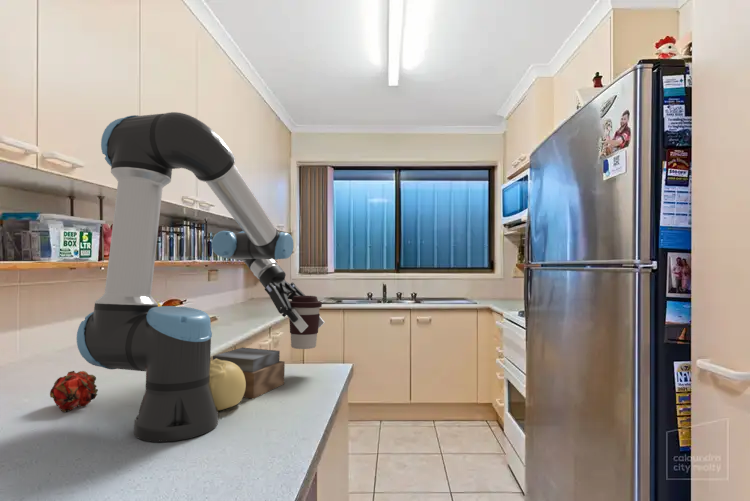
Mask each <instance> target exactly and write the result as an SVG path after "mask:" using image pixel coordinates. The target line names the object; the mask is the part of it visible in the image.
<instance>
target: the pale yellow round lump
mask: <svg viewBox="0 0 750 501" xmlns="http://www.w3.org/2000/svg"><path fill="white" fill-rule="evenodd" d="M210 388H211V391H212V395H213V398H214V403H215V406H216V407H217V410H218V412H219V411H222V410H225V409H229V408H232V407H235V406H237V405H238V404H239V403H240V402H241V401H242V400H243V398H244V397H243V396H244V393H245V388H246V381H245V376H244V374H243V372H242V370H241V369H240V367H239V366H238V365H236V364H235V363H233V362H230V361H224V360H219V359H214V360H213V359H210Z"/></svg>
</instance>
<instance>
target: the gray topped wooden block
mask: <svg viewBox="0 0 750 501" xmlns="http://www.w3.org/2000/svg"><path fill="white" fill-rule="evenodd" d="M280 358H281V356H280V350H276V349H261V348H252V347H251V348H250V347H240V348H235V349H232V350H229V351H225V352H222V353H218V354H215V355H212V360H214V359H219V360H224V361H230V362H233V363H235V364H236V365H238V366H239V367H240V369H241V370H242V372H243V374H244V376H245V381H246V388H245V393H244V396H243V398H246V399H256V398H258V397H261V395H264V394H266V393H269V392H271V391H272V390H275V389H277V388H278V387H281V386H284V384H285V370H286V369H285V367H286V366H285V365H286V364H285V362H286V361H284V360H283V361H282V360H280Z"/></svg>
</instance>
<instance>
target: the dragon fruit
mask: <svg viewBox="0 0 750 501" xmlns="http://www.w3.org/2000/svg"><path fill="white" fill-rule="evenodd" d="M96 380H97V377H96V375H94V374H89V373H88V372H87V371H85V370H79V371H78V372H75V370H72V371H71V370H70V371H68V372H67V375H63V376H60V377H58V378H57V379H56V380H55V381H54V383H53V386H52V388H51V389H50V392H49V396H50V398H52V399H53V401H54V403H55V405H56V406H57V407H58V408H59V409H60V411H61V412H63V413H66V412H67V413H68V412H70V411H72V410H73V409H75V408H79V407H82V408H84V407H86V406H88V405H89V403H91V402H92V401H93V400H94V399H95V398H96V397H97V396H98V391H99V390H98V389H97V385H96V384H95V383H96V382H95V381H96Z"/></svg>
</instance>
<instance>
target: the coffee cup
mask: <svg viewBox="0 0 750 501" xmlns="http://www.w3.org/2000/svg"><path fill="white" fill-rule="evenodd" d="M289 302H290V305H291V307H292V310H293V309H295V310H296V311H297V313H298V314H299V315H300V316H301V318H302V319H303V320H304V321H305V322H306V324H307V325H308V327H307V328H306V329H305V330H304V331H303V332H302V333H301V332H300V331H299V330H298V329H297V327H296V326H295V325H294V324H293V322H292V321H291V320H290V319H289V334H290V346H291V348H293V349H297V350H308V349H309V350H310V349H314V348H316V347H317V340H318V339H317V338H318V333H319V329H320V328H319V317H321V314H320V309H321V308H322V305H323V304H322V303H323V301H320V300H319V299H318V297H317V296H316V295H306V296H294V297H293V299H292V300H289Z"/></svg>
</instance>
